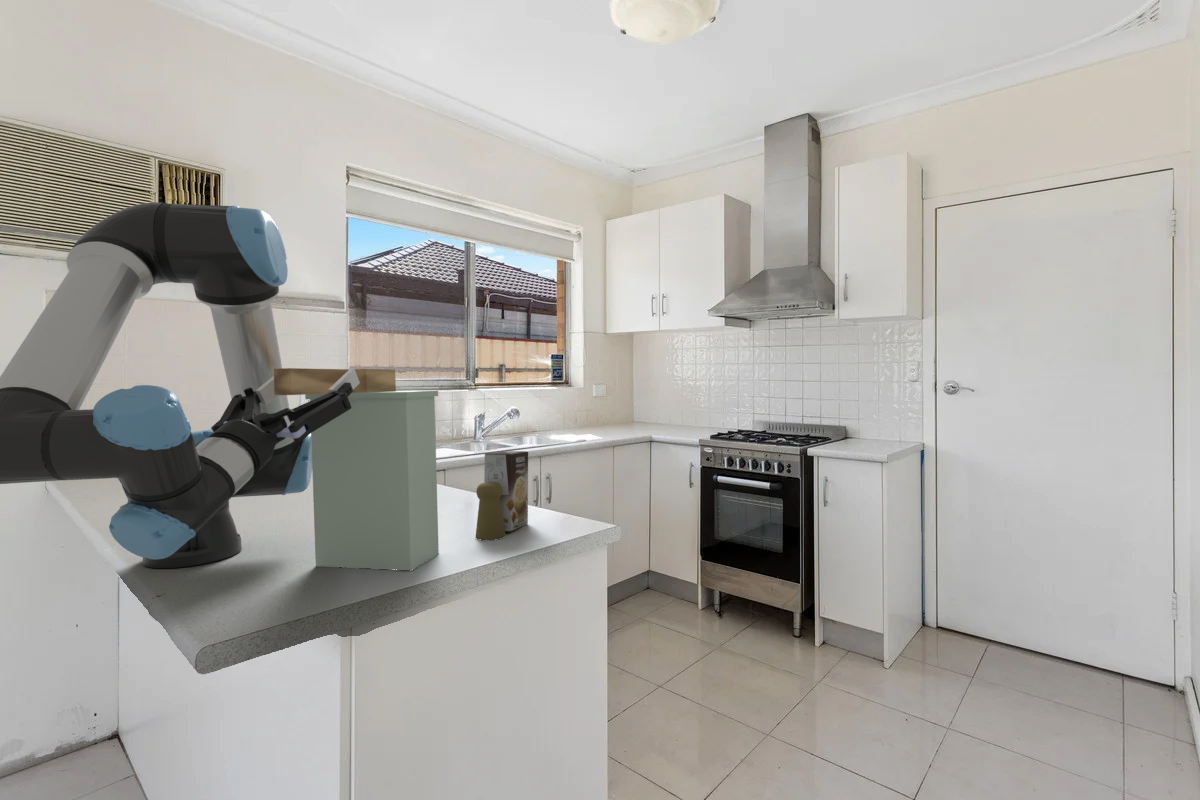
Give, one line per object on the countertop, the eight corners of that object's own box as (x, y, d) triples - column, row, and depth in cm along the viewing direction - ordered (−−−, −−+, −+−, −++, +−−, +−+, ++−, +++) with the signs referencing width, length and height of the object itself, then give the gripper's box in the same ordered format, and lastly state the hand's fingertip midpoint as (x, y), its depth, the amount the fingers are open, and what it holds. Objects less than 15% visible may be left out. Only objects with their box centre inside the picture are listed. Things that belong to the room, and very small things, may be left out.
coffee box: (511, 532, 122) (511, 453, 122) (483, 530, 124) (483, 453, 124) (528, 523, 131) (528, 450, 131) (502, 522, 132) (502, 450, 133)
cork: (499, 541, 117) (498, 485, 117) (470, 540, 118) (469, 485, 118) (509, 533, 123) (508, 480, 123) (482, 532, 124) (481, 480, 124)
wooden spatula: (254, 395, 90) (253, 369, 90) (348, 391, 112) (347, 370, 112) (312, 394, 88) (311, 367, 88) (395, 391, 110) (395, 369, 110)
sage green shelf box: (311, 567, 102) (305, 393, 101) (350, 548, 113) (345, 391, 112) (412, 572, 99) (407, 392, 98) (442, 553, 109) (438, 390, 108)
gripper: (168, 478, 83) (265, 396, 101) (321, 481, 79) (394, 395, 96) (140, 434, 79) (246, 357, 97) (299, 434, 75) (380, 354, 93)
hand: (320, 376), depth 97 cm, fingers open, 12 cm apart
